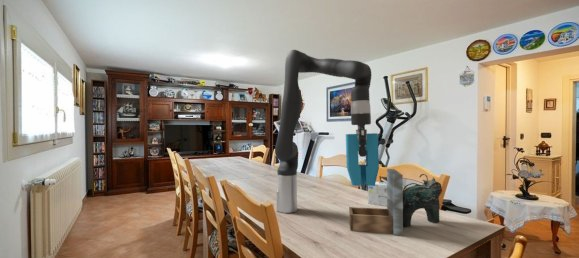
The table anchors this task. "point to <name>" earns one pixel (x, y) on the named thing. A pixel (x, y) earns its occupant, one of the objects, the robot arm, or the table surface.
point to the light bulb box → (378, 194)
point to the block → (370, 170)
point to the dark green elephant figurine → (421, 200)
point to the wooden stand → (382, 210)
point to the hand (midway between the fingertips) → (362, 155)
